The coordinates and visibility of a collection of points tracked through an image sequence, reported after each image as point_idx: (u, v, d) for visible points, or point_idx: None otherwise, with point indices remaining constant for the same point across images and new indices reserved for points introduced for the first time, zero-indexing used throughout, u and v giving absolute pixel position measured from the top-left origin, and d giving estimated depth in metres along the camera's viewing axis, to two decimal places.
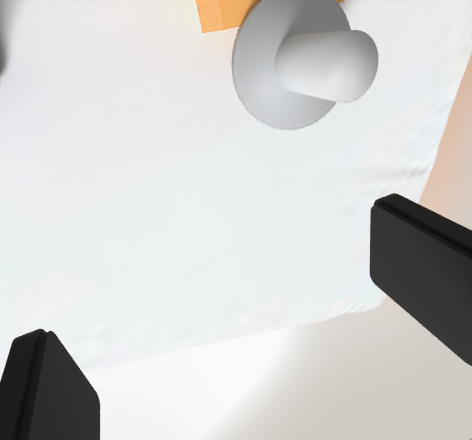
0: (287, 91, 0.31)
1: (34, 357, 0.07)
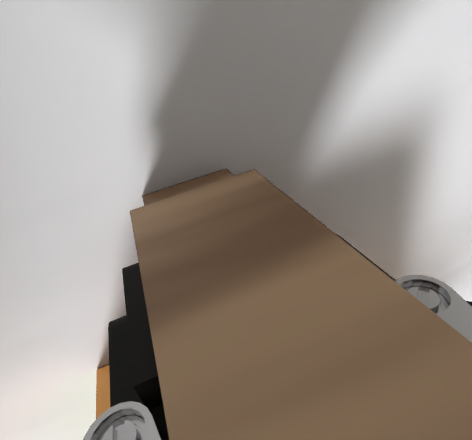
0: None
1: None
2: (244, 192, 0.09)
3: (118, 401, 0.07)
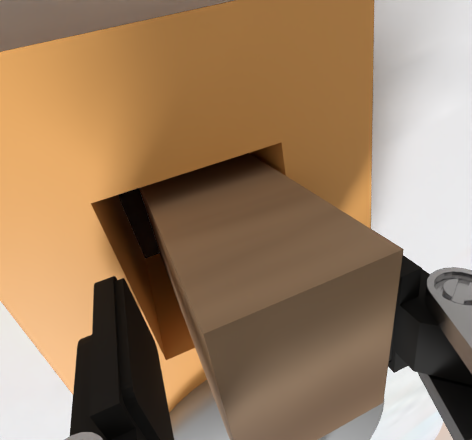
0: None
1: (116, 295, 0.08)
2: None
3: (78, 428, 0.06)
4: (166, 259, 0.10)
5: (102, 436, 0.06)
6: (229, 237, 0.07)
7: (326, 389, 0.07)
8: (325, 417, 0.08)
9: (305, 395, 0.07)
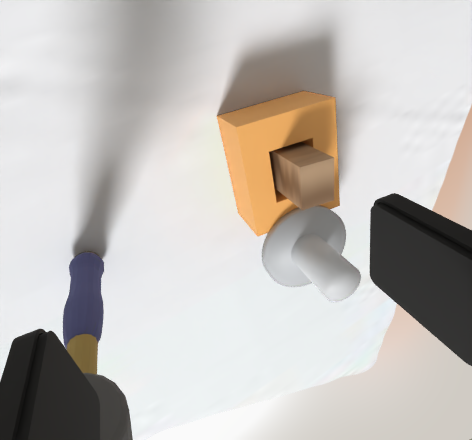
0: None
1: (34, 357, 0.07)
2: None
3: None
4: (279, 168, 0.39)
5: None
6: (300, 157, 0.36)
7: (320, 189, 0.36)
8: (320, 198, 0.36)
9: (315, 188, 0.36)
